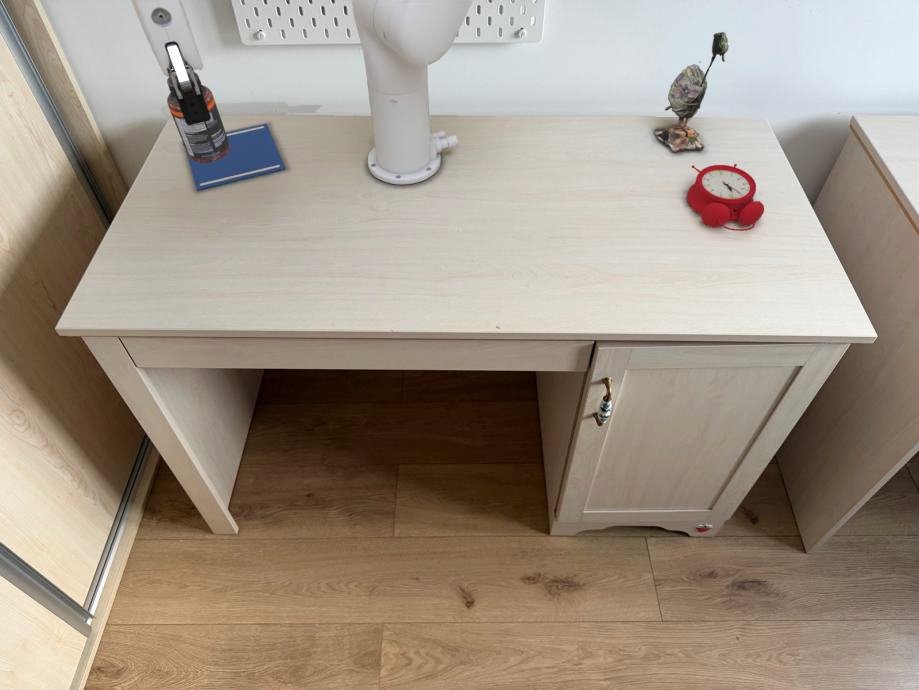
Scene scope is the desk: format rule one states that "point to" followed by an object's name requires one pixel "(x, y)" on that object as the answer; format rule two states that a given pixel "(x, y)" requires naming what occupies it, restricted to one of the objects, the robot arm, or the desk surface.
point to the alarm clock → (725, 197)
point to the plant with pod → (689, 100)
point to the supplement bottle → (200, 127)
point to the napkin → (240, 159)
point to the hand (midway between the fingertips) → (193, 107)
